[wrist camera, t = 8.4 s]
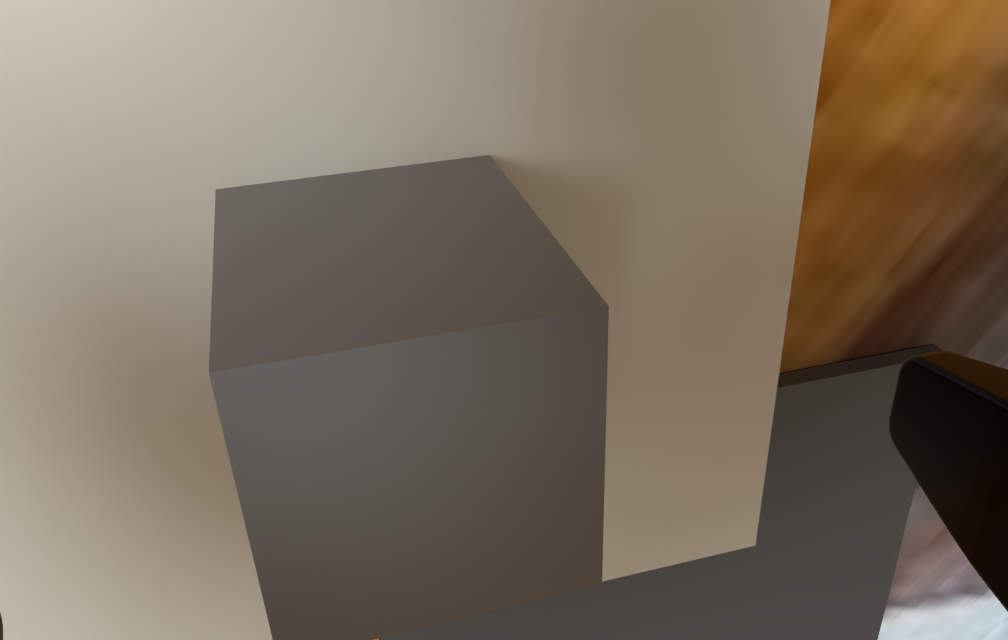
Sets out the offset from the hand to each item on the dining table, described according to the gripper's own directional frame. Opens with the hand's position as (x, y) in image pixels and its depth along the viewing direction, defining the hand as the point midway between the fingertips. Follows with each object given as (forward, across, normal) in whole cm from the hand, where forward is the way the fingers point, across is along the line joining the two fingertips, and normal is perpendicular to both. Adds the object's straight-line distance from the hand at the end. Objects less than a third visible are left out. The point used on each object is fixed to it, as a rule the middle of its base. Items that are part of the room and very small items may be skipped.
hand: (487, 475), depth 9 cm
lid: (+7, 0, +1) cm, 7 cm away
